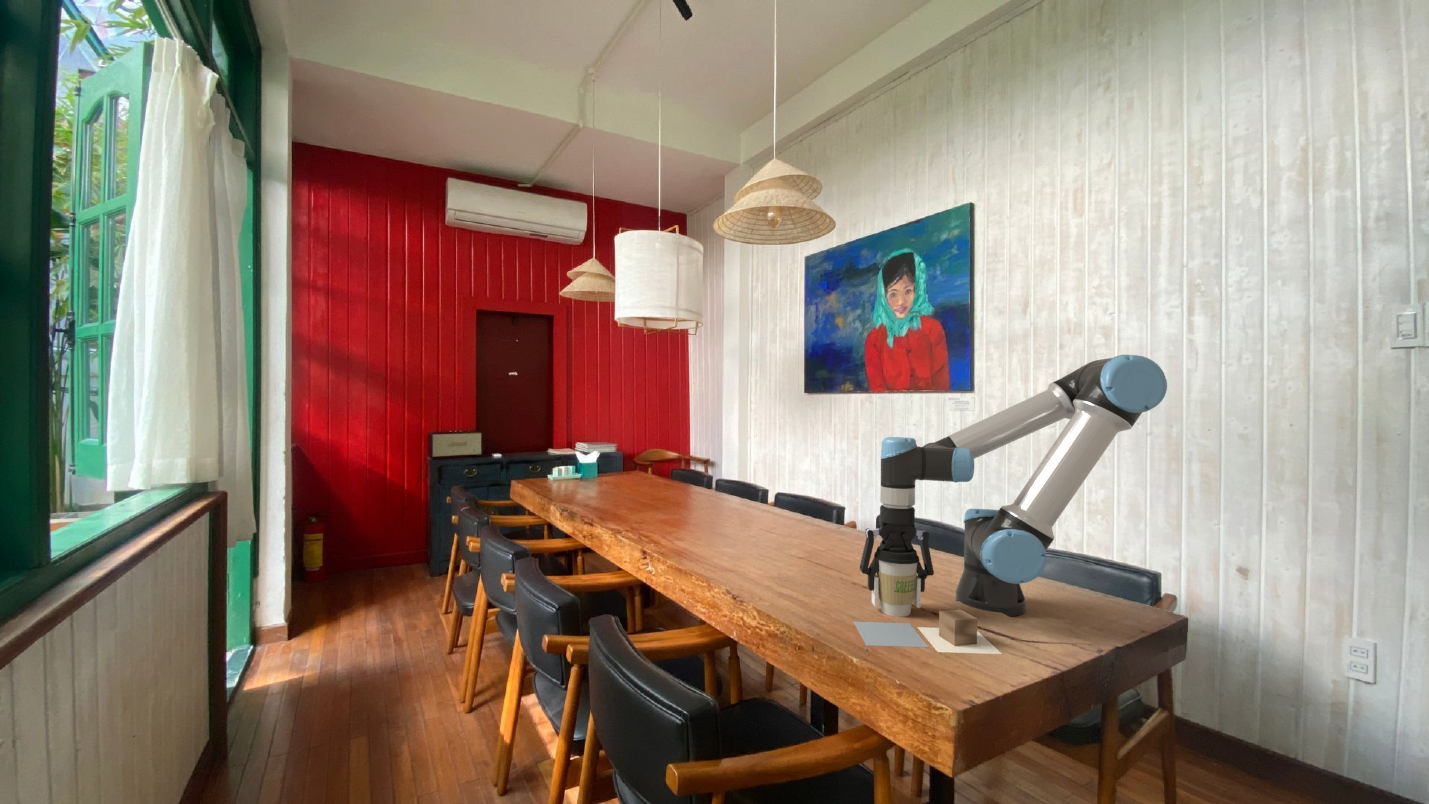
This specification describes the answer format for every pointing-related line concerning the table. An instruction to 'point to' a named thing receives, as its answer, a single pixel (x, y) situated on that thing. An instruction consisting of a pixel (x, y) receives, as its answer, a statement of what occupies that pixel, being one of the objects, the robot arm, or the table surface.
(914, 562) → the coffee cup
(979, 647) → the pad
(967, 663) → the table surface
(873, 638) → the pad
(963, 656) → the table surface
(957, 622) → the walnut block
